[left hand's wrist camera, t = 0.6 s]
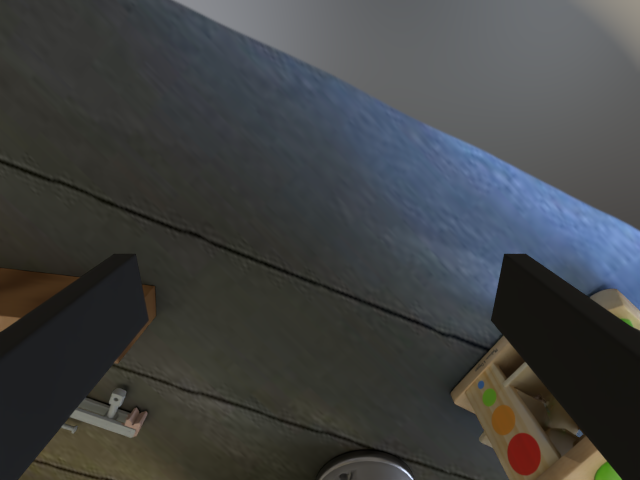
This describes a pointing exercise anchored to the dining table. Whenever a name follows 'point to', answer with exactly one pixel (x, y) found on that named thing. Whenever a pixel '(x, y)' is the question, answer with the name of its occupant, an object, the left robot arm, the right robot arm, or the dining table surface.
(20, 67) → the dining table surface
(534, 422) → the pounding bench toy
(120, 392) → the clamp
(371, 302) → the dining table surface
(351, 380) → the dining table surface
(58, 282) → the bar
